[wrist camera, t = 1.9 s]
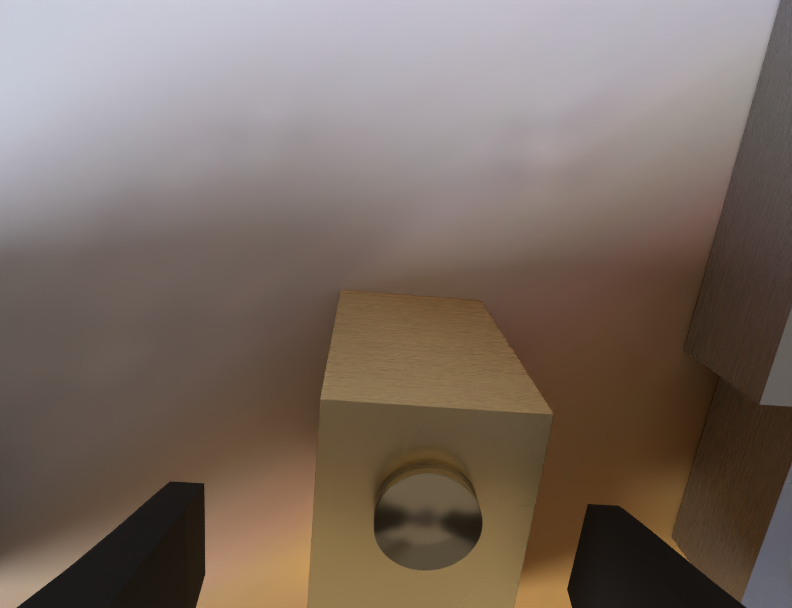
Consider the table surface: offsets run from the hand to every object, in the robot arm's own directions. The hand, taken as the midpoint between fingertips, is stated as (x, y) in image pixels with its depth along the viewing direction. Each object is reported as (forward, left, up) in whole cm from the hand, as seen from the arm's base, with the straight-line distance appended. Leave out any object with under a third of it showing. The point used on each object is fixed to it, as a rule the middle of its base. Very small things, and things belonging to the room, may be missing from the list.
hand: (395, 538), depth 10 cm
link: (0, 0, -3) cm, 3 cm away
